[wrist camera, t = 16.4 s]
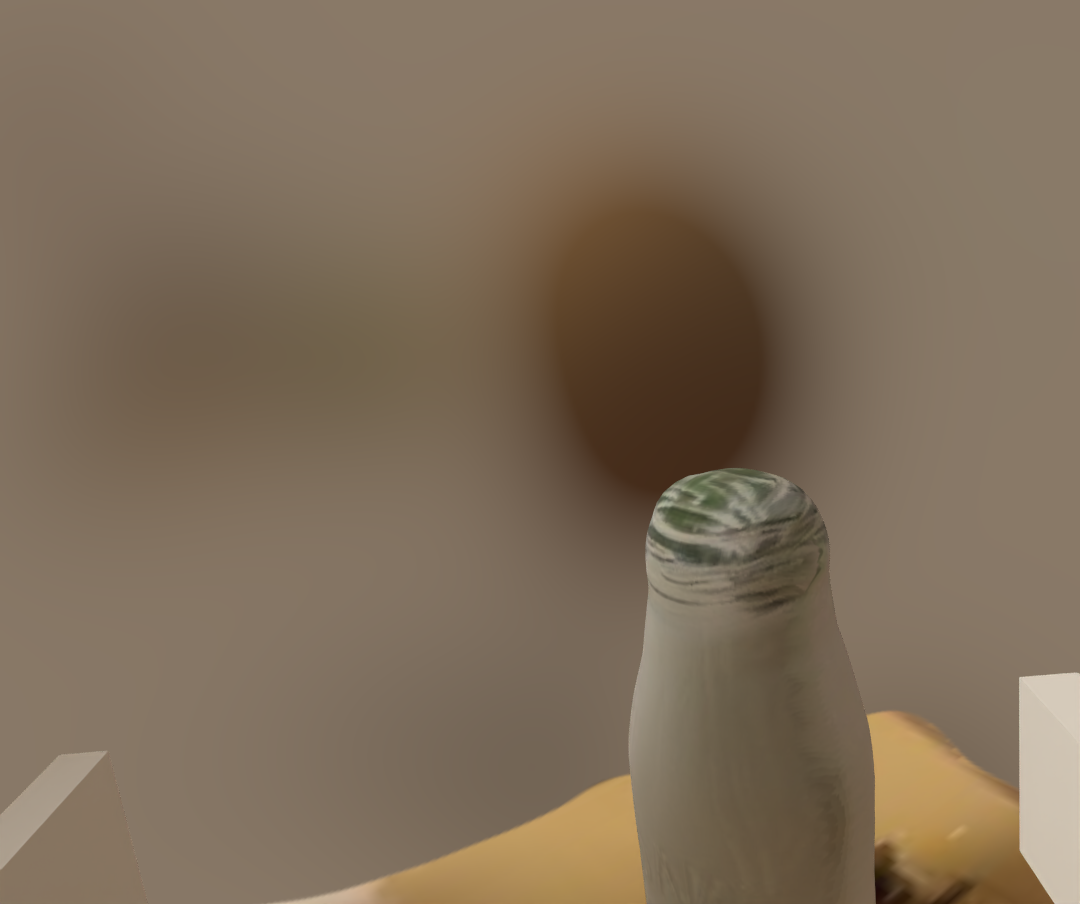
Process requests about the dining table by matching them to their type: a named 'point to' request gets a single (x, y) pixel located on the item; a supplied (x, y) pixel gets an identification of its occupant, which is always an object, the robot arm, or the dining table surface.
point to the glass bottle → (747, 705)
